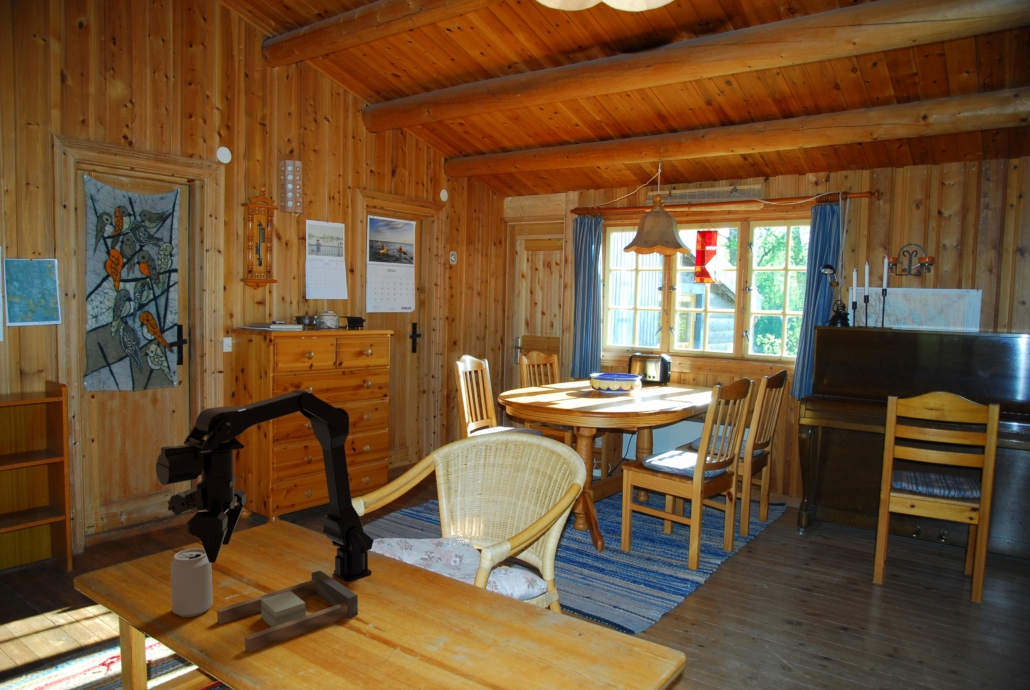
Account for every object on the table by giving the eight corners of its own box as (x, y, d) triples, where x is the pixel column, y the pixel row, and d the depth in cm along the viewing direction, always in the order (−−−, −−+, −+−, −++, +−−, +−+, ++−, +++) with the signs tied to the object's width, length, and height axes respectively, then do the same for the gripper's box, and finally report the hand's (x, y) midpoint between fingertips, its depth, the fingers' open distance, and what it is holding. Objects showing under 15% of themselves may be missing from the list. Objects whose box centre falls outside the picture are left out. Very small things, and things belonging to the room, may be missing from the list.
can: (197, 620, 136) (194, 562, 135) (163, 617, 138) (161, 558, 137) (220, 603, 143) (218, 547, 142) (188, 600, 145) (186, 544, 144)
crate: (290, 609, 142) (290, 590, 141) (305, 622, 136) (305, 602, 136) (261, 618, 138) (260, 599, 137) (275, 632, 132) (275, 612, 132)
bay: (320, 588, 151) (320, 570, 151) (357, 614, 139) (357, 595, 139) (217, 621, 136) (216, 601, 136) (249, 653, 124) (248, 632, 124)
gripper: (188, 463, 141) (190, 537, 142) (155, 489, 122) (157, 574, 124) (245, 461, 143) (247, 535, 144) (221, 487, 124) (222, 572, 125)
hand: (219, 553), depth 134 cm, fingers open, 9 cm apart
